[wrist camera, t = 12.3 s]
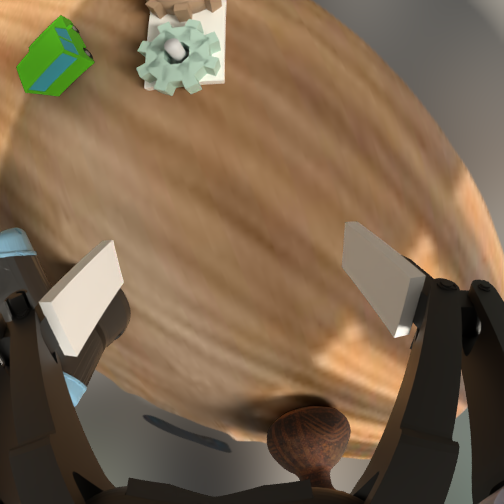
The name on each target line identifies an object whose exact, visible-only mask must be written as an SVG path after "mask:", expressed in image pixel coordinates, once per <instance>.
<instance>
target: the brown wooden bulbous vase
mask: <svg viewBox="0 0 504 504" xmlns="http://www.w3.org/2000/svg"><path fill="white" fill-rule="evenodd" d="M350 432H351V430H350V425H349V422H348V420H347V418H346V417H345V416H344V415H343V414H342V413H341V412H339V411H338V410H337V409H335V408H330V407H319V406H307V407H303V408H299V409H296V410H292V411H290V412H288V413H286V414H284V415H282V416H281V417H280V418H279V419H278V420H276V421H275V422H274V423H273V424H272V425H271V427H270V428H269V430H268V434H267V445H268V449H269V452H270V453H271V455H272V456H273V458H274V459H275V460H276V461H277V462H278V463H279V464H280V465H281V466H282V467H283V468H284V469H286V470H288V471H289V472H291V473H294V474H295V475H297V476H298V478H299V479H300V481H303V480H309V479H310V483H311V487H320V488H328V489H333V490H336V489H334V487H333V486H332V484H331V479H330V470H331V469H332V468H333V467H334V466H335V465H336V464H337V463H338V462H339V460H340V459H341V457H342V455H343V454H344V452H345V449H346V447H347V444H348V441H349V437H350ZM342 492H343V491H342ZM345 493H346V492H345Z"/></svg>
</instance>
